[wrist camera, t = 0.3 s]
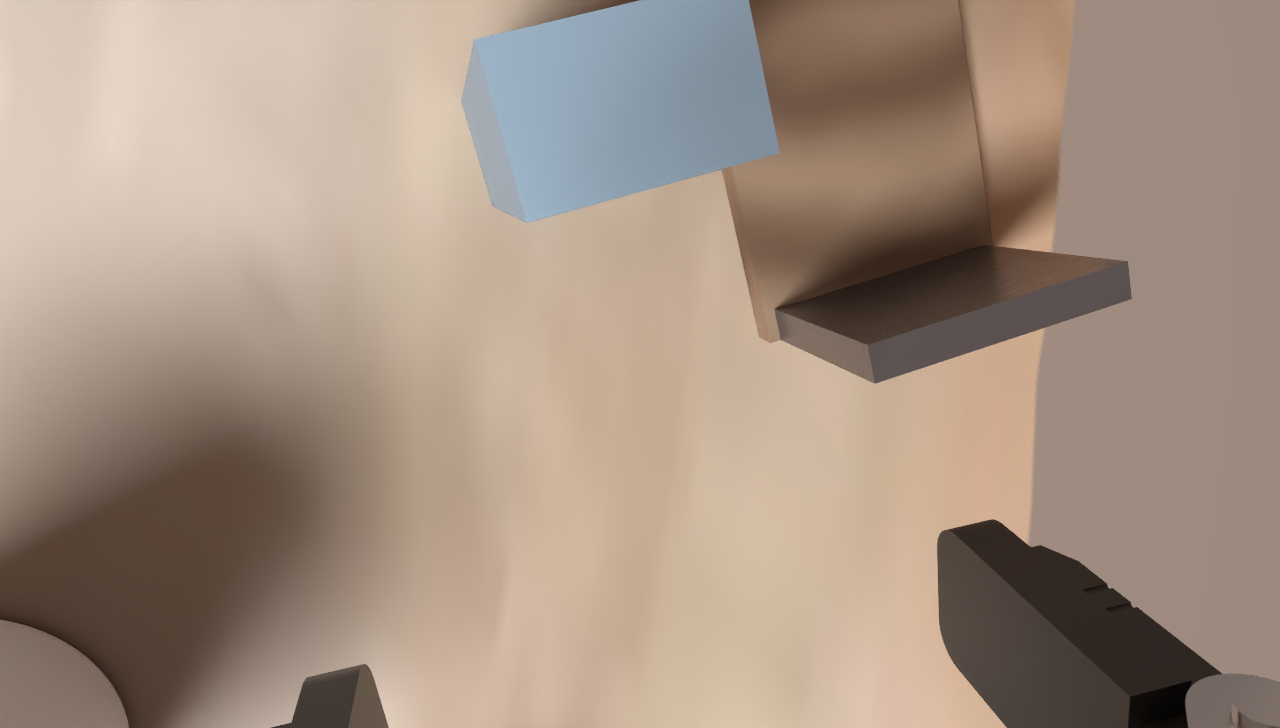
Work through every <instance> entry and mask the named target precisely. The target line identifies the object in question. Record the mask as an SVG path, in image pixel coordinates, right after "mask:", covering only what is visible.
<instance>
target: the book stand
mask: <svg viewBox="0 0 1280 728" xmlns="http://www.w3.org/2000/svg"><path fill="white" fill-rule="evenodd" d="M749 4H750V9H751V14H752V19H753V24H754V29H755V34H756V39H757V43H758V48H759V53H760V58H761V63H762V68H763V73H764V78H765V83H766V88H767V92H768V97H769V102H770V107H771V112H772V117H773V122H774V127H775V132H776V137H777V141H778V146H779V151H780V153H779V154H775V155H771V156H768V157H764V158H760V159H757V160H753V161H750V162H746V163H742V164H739V165H735V166H731V167H728V168H724V169H722V171H723V176H724V180H725V185H726V189H727V194H728V198H729V203H730V207H731V212H732V216H733V221H734V225H735V230H736V234H737V239H738V243H739V248H740V252H741V257H742V261H743V266H744V270H745V275H746V279H747V284H748V288H749V293H750V297H751V302H752V306H753V310H754V315H755V319H756V324H757V328H758V333H759V337H760V338H762V339H764V340H766V341H768V342H770V343H772V342H775V341H778V340H781V338H780V334H779V329H778V324H777V320H776V315H775V311H774V309H776V308H780V307H783V306H786V305H789V304H793V303H796V302H799V301H802V300H806V299H809V298H812V297H816V296H819V295H822V294H825V293H829V292H832V291H835V290H838V289H842V288H845V287H848V286H851V285H855V284H858V283H861V282H864V281H868V280H871V279H874V278H877V277H881V276H884V275H887V274H890V273H894V272H897V271H900V270H903V269H907V268H910V267H913V266H916V265H920V264H923V263H926V262H929V261H933V260H936V259H939V258H942V257H946V256H949V255H952V254H955V253H959V252H962V251H965V250H968V249H972V248H975V247H978V246H981V245H989V246H993V243H992V236H991V229H990V222H989V215H988V208H987V201H986V194H985V187H984V180H983V173H982V166H981V159H980V152H979V145H978V138H977V131H976V124H975V117H974V110H973V103H972V96H971V89H970V82H969V75H968V68H967V61H966V54H965V47H964V39H963V32H962V25H961V18H960V11H959V4H958V0H749Z"/></svg>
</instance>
